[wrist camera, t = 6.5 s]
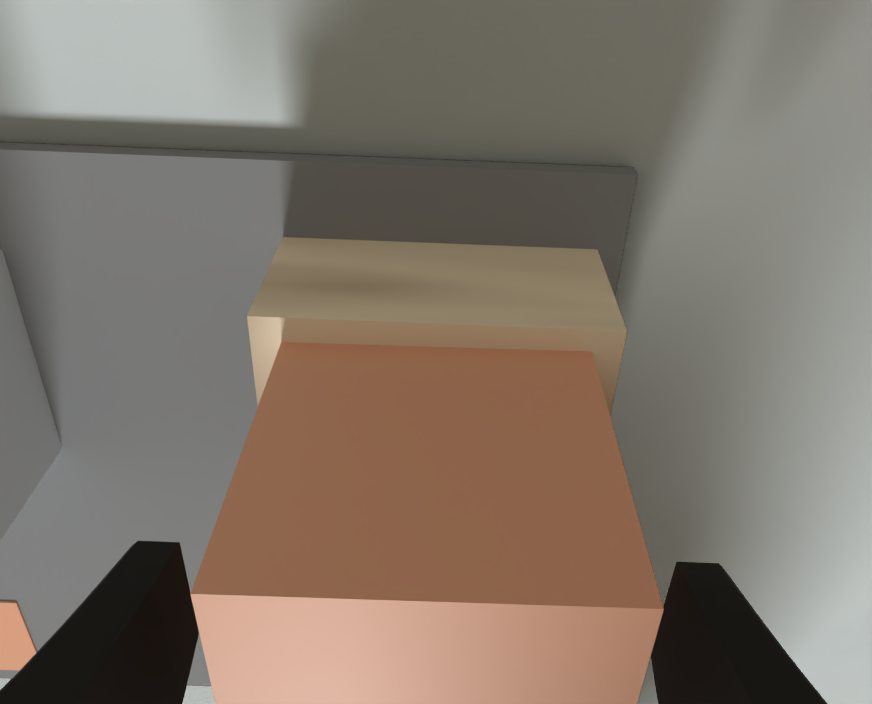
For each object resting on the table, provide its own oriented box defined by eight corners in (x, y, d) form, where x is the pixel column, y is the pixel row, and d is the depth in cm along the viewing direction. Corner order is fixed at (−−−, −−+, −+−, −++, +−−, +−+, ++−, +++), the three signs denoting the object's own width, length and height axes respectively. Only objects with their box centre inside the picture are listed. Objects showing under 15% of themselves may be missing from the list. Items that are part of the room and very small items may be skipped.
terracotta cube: (557, 565, 15) (598, 841, 11) (303, 557, 15) (243, 829, 11) (592, 351, 12) (663, 609, 8) (281, 342, 12) (189, 594, 8)
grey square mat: (539, 686, 23) (541, 701, 22) (-63, 663, 23) (-72, 677, 22) (633, 167, 14) (638, 175, 14) (-343, 128, 14) (-365, 136, 14)
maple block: (559, 483, 18) (576, 586, 15) (302, 473, 18) (277, 574, 15) (597, 249, 14) (627, 331, 12) (283, 236, 14) (246, 315, 12)
